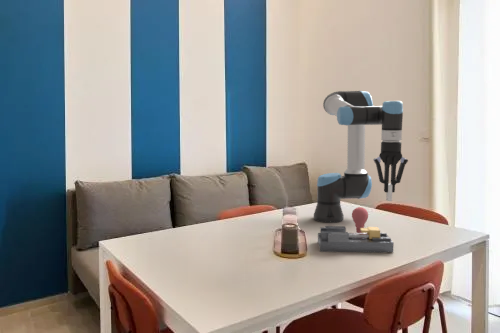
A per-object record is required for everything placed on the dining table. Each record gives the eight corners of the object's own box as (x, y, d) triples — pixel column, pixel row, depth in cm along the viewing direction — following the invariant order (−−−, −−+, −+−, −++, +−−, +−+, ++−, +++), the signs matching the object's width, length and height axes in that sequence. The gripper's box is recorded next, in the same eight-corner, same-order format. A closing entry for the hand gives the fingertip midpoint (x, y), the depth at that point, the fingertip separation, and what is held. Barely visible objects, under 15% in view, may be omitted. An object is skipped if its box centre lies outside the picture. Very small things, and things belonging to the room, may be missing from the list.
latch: (362, 239, 165) (362, 230, 164) (359, 235, 170) (360, 226, 169) (379, 239, 164) (380, 230, 164) (377, 235, 169) (377, 227, 169)
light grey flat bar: (324, 237, 167) (324, 235, 167) (323, 235, 170) (323, 233, 170) (368, 237, 166) (368, 235, 165) (367, 235, 169) (367, 232, 168)
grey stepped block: (320, 251, 163) (320, 234, 162) (317, 242, 175) (318, 225, 174) (393, 252, 161) (393, 235, 160) (385, 243, 173) (386, 226, 172)
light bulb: (349, 234, 186) (350, 208, 184) (353, 230, 192) (354, 205, 190) (365, 236, 182) (366, 209, 181) (369, 232, 189) (370, 206, 187)
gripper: (376, 142, 158) (374, 202, 162) (411, 141, 157) (408, 202, 161) (372, 140, 166) (370, 198, 169) (405, 140, 165) (403, 198, 168)
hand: (388, 200), depth 165 cm, fingers closed
